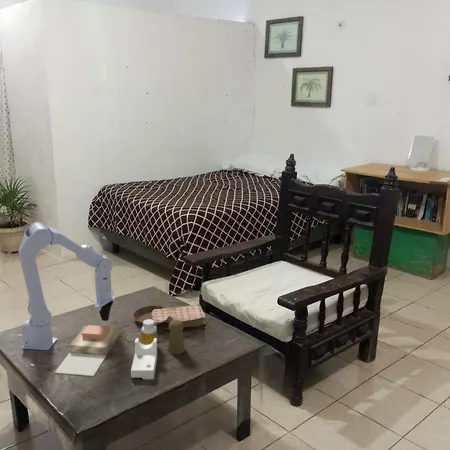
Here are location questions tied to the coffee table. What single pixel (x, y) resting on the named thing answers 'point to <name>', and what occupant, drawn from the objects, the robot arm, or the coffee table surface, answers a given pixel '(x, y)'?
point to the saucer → (144, 313)
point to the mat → (80, 364)
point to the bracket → (144, 360)
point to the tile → (95, 332)
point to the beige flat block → (94, 343)
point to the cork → (176, 337)
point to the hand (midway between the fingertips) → (105, 319)
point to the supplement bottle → (148, 331)
